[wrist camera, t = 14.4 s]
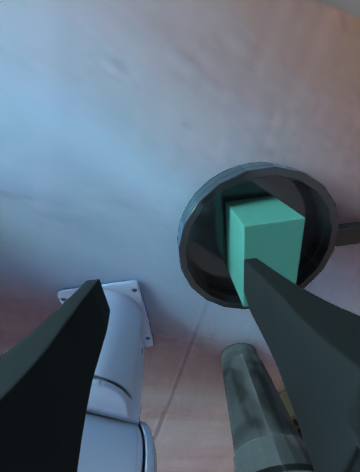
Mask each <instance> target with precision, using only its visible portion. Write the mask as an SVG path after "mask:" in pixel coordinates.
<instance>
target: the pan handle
mask: <svg viewBox="0 0 360 472" xmlns="http://www.w3.org/2000/svg"><path fill="white" fill-rule="evenodd" d="M357 243H360V222H353V223H345V224H339V230H338V231H337V238H336V243H335V246H343V245H350V244H357Z"/></svg>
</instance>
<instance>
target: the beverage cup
mask: <svg viewBox="0 0 360 472" xmlns="http://www.w3.org/2000/svg"><path fill="white" fill-rule="evenodd" d="M221 360H222V368H223V369H222V372H223V378H224V385H225V392H226V399H227V405H228V412H229V419H230V426H231V433H232V439H233V446H234V453H235V456H234V467H235V472H314V469H313V466H312V463H311V460H310V457H309V454H308V451H307V448H306V445H305V442H304V441H303V440H302V439H301V437H300V435H299V433H298V431H297V429H296V427H295V425H294V423H293V421H292V419H291V417H290V415H289V413H288V411H287V409H286V407H285V405H284V403H283V401H282V399H281V397H280V395H279V393H278V391H277V389H276V387H275V385H274V384H273V382H272V380H271V378H270V376H269V374H268V372H267V370H266V368H265V366H264V364H263V362H262V360H261V359H260V357H259V355H258V354H257V352H256V349H255V348H254V347H253V346H251V345H250V344H245V343H238V344H234V345H231V346H229V347H228V348H226V349H225V350H224V351H223V353H222V355H221Z"/></svg>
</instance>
